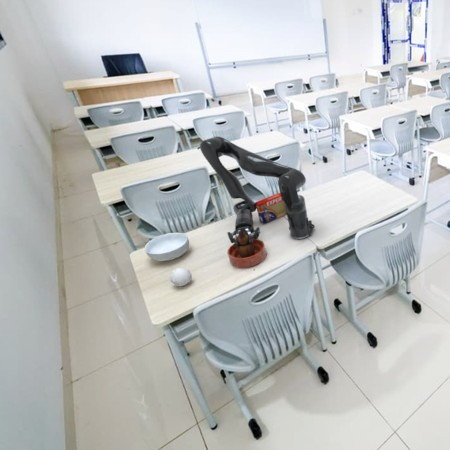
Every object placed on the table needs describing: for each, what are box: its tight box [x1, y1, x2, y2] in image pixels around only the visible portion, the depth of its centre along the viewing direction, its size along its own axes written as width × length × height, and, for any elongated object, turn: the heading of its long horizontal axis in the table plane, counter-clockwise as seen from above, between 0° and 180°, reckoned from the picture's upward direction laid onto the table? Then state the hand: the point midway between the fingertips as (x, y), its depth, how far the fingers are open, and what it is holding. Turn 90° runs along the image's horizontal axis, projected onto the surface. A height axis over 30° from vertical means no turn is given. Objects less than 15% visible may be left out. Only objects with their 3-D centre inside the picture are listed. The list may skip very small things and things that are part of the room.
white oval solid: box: [165, 267, 193, 287], centre depth 140 cm, size 10×7×7 cm
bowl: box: [226, 238, 267, 268], centre depth 156 cm, size 15×15×6 cm
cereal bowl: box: [144, 232, 190, 262], centre depth 157 cm, size 17×17×7 cm
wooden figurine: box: [237, 230, 254, 258], centre depth 153 cm, size 7×6×15 cm
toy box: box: [254, 192, 287, 225], centre depth 185 cm, size 18×4×12 cm, turn 138°
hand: (243, 244), depth 150 cm, fingers closed on wooden figurine, 4 cm apart
